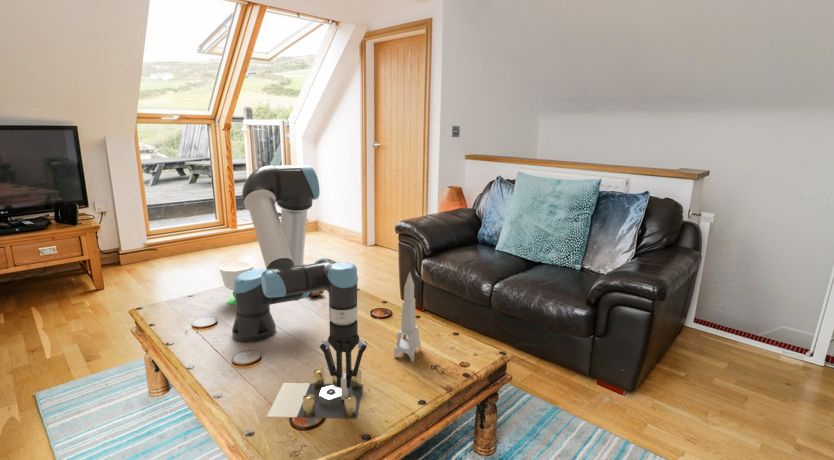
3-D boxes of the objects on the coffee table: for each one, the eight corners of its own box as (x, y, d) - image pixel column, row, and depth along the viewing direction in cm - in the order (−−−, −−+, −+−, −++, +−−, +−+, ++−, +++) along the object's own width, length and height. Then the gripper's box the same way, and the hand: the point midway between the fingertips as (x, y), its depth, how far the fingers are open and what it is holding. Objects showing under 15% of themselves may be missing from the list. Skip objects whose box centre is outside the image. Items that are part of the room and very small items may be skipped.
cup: (248, 307, 190) (246, 271, 186) (216, 306, 190) (213, 270, 186) (260, 295, 203) (258, 261, 200) (229, 294, 203) (227, 260, 200)
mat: (266, 418, 120) (266, 416, 120) (283, 384, 136) (283, 382, 136) (357, 420, 121) (357, 418, 121) (363, 386, 136) (363, 384, 136)
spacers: (302, 417, 120) (301, 400, 119) (315, 383, 136) (314, 368, 135) (355, 418, 121) (355, 401, 119) (361, 384, 136) (361, 369, 135)
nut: (322, 409, 124) (322, 400, 123) (316, 397, 129) (315, 389, 128) (346, 401, 127) (346, 393, 127) (339, 391, 132) (338, 383, 132)
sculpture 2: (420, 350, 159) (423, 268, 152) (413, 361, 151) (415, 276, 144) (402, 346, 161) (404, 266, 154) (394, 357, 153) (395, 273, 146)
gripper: (316, 325, 119) (318, 404, 124) (366, 326, 119) (366, 405, 125) (322, 313, 126) (323, 388, 132) (368, 314, 126) (368, 389, 132)
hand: (344, 396), depth 128 cm, fingers closed
